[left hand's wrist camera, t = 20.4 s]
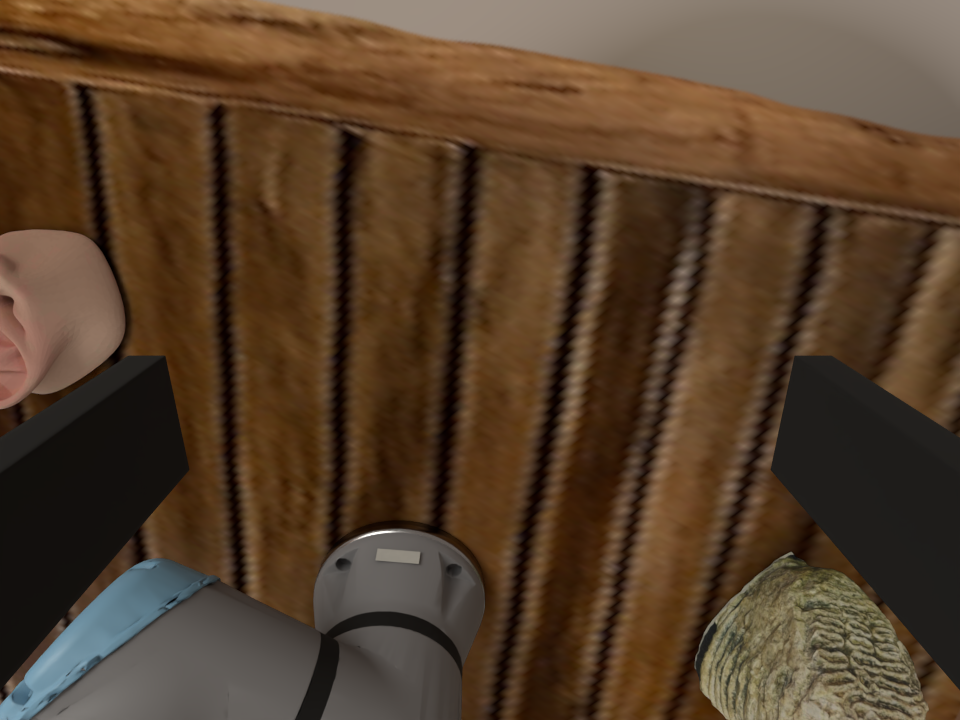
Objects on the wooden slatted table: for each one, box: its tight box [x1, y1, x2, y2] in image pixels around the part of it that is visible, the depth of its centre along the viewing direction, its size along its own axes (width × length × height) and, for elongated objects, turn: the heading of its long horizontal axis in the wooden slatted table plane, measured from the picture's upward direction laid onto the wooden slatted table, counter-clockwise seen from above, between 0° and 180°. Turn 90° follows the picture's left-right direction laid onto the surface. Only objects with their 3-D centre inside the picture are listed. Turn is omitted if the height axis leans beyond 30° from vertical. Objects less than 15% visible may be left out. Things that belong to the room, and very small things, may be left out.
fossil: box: [695, 552, 929, 720], centre depth 48 cm, size 9×18×15 cm, turn 167°
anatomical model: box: [0, 230, 125, 409], centre depth 42 cm, size 13×4×12 cm
